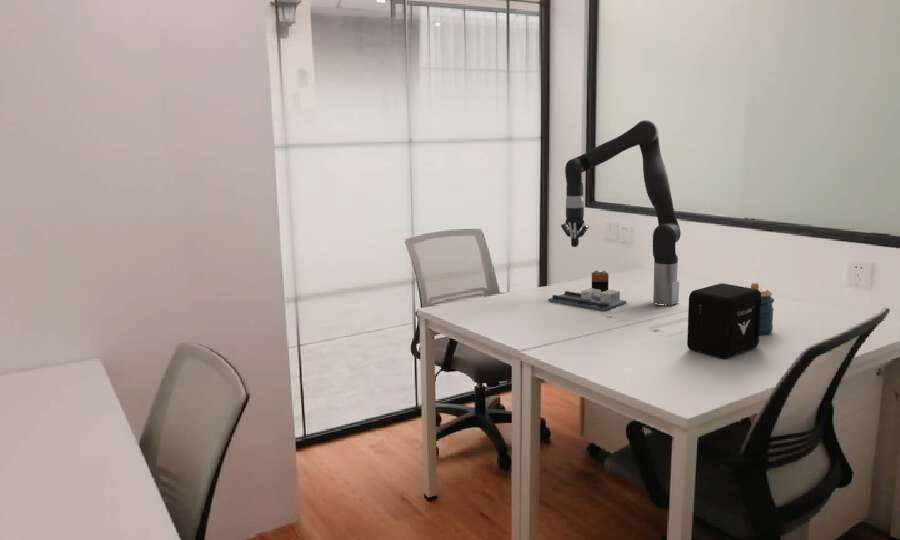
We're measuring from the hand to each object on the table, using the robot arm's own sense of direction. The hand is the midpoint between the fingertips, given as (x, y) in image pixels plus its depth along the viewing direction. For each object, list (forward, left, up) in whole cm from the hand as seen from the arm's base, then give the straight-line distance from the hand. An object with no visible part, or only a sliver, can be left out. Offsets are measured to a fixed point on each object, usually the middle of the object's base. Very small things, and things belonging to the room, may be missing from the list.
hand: (574, 246), depth 309 cm
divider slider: (-11, +6, -21) cm, 24 cm away
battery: (-4, -13, -23) cm, 27 cm away
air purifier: (-79, +31, -23) cm, 88 cm away
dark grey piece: (-9, +5, -22) cm, 25 cm away
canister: (-78, +5, -23) cm, 82 cm away
